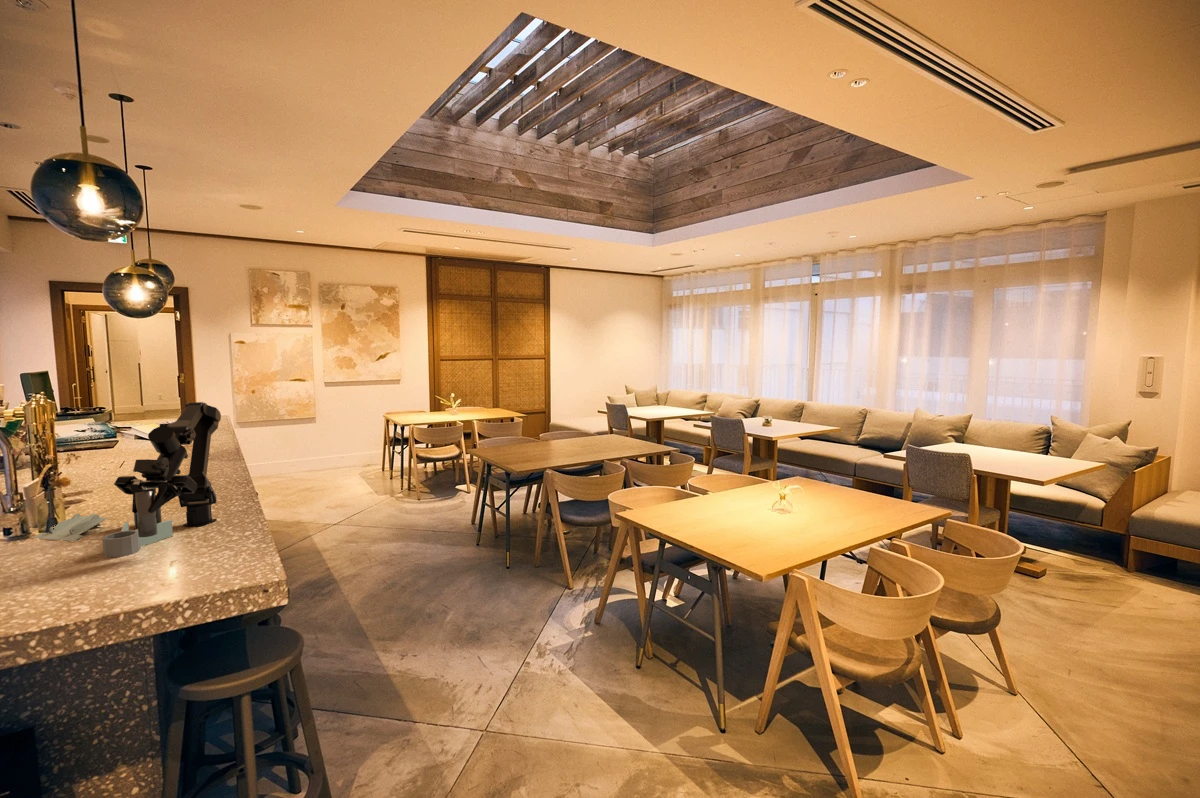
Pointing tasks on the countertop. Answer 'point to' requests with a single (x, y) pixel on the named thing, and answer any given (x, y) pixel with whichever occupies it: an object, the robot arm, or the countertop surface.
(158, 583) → the countertop surface
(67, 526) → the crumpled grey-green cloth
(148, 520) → the hinge pin
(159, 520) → the supplement bottle
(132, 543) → the grey forked piece
